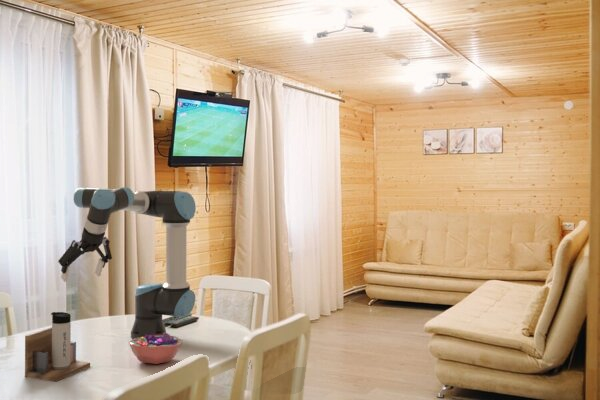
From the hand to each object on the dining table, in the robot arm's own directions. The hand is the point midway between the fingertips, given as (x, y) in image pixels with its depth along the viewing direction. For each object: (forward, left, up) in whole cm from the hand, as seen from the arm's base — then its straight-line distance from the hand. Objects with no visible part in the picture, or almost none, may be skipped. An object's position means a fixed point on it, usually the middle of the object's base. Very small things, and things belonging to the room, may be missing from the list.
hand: (80, 276), depth 229 cm
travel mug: (+5, +8, -32) cm, 33 cm away
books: (+5, 0, -32) cm, 32 cm away
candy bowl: (-28, -1, -33) cm, 43 cm away
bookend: (+12, +13, -32) cm, 36 cm away
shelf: (+5, +8, -33) cm, 34 cm away
